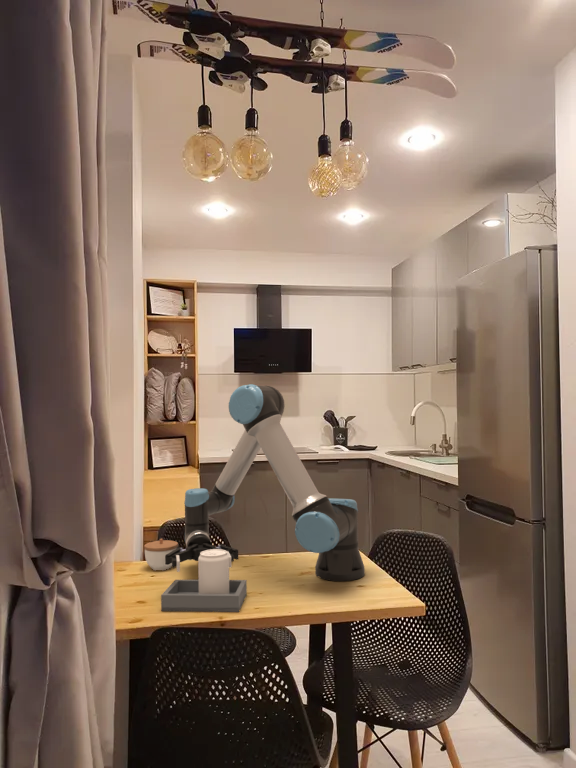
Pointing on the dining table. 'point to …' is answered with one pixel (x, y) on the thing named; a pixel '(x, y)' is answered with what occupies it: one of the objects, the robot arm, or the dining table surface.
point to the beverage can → (213, 572)
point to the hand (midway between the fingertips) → (204, 564)
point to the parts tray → (202, 597)
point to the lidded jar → (159, 553)
